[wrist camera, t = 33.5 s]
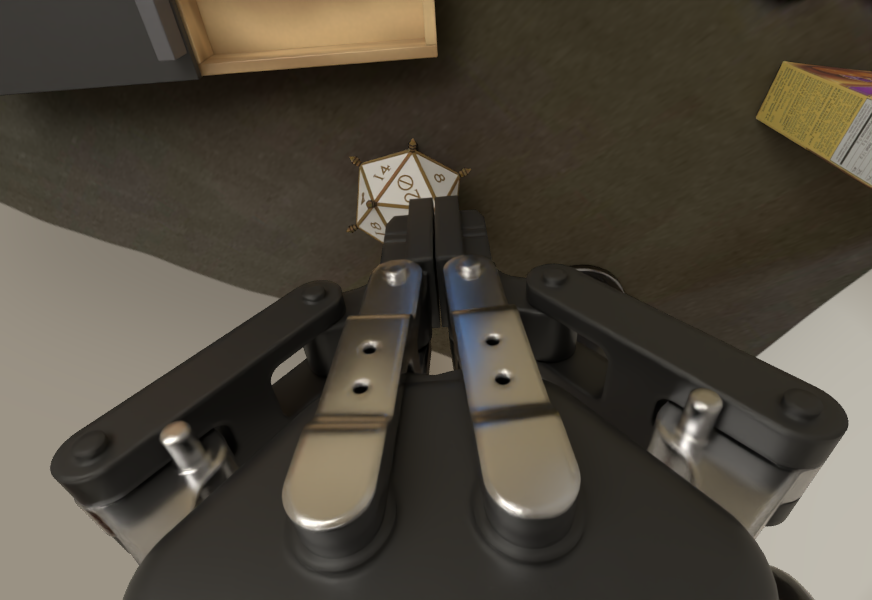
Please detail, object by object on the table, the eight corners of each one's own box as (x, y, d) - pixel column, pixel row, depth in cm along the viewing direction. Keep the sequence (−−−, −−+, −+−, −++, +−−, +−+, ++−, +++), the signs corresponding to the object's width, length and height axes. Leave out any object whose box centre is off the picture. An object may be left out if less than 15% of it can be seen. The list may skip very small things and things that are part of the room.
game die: (386, 152, 41) (301, 147, 32) (479, 127, 36) (409, 113, 28) (406, 259, 42) (329, 280, 33) (498, 246, 38) (436, 267, 29)
